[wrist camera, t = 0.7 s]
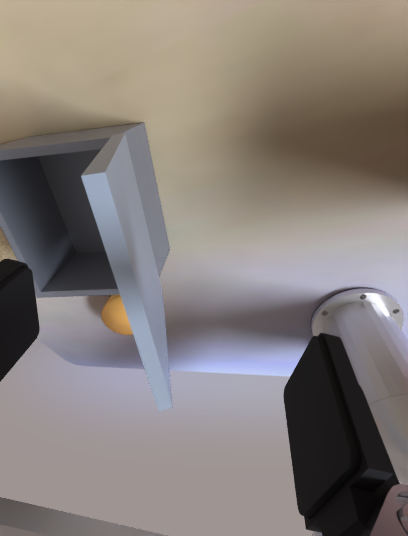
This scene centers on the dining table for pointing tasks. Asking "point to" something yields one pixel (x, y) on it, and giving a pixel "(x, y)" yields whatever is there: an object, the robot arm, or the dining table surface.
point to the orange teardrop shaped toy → (116, 316)
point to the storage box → (69, 208)
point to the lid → (131, 257)
